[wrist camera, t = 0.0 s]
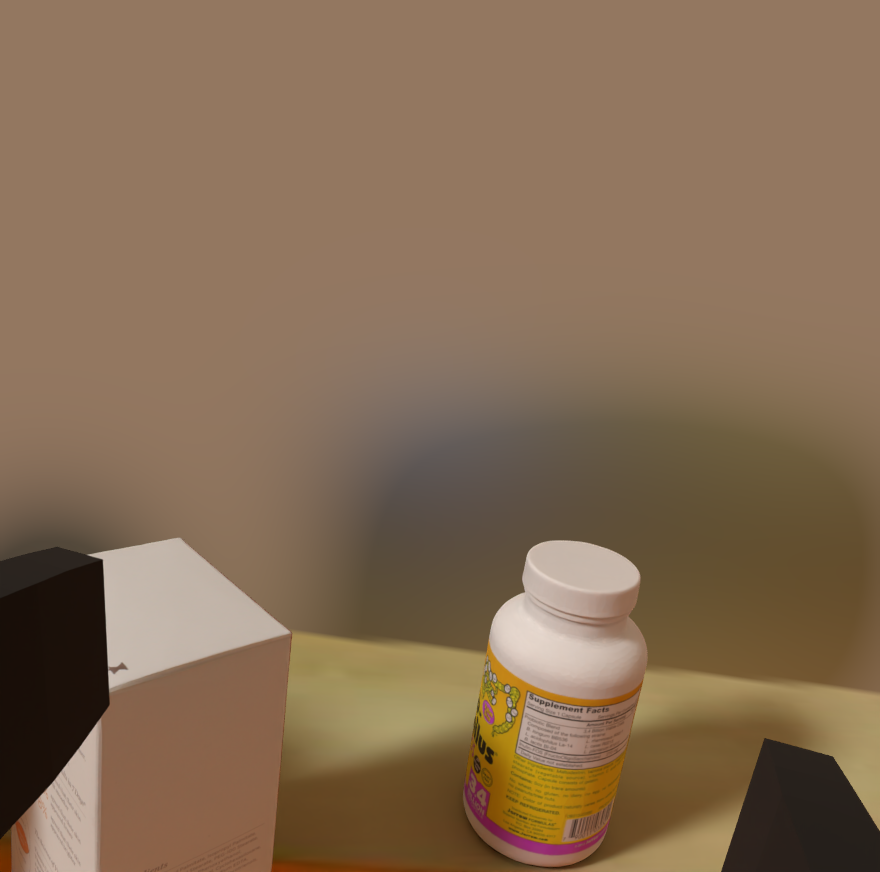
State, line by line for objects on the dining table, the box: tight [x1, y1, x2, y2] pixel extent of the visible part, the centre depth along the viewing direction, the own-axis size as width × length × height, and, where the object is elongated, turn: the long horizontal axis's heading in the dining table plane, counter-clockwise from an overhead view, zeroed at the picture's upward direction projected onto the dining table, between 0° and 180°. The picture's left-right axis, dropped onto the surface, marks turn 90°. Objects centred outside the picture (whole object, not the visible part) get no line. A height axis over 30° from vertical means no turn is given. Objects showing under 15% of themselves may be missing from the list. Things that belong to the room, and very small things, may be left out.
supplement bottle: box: [463, 541, 647, 867], centre depth 36 cm, size 7×7×13 cm
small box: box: [11, 538, 292, 872], centre depth 29 cm, size 8×6×13 cm
